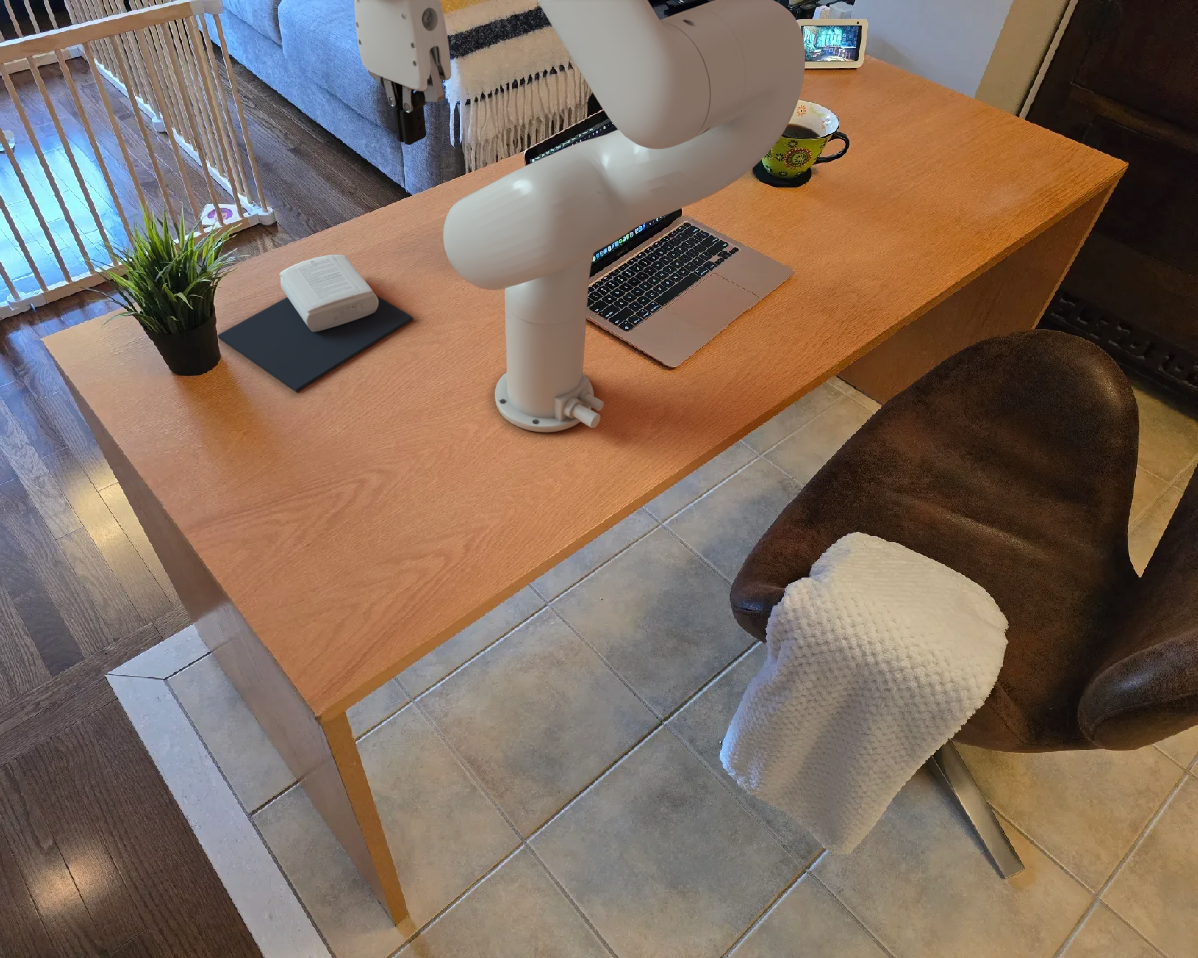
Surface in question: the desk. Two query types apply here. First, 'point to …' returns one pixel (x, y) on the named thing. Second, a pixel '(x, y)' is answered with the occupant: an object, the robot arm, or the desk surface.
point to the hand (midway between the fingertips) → (412, 139)
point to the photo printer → (328, 291)
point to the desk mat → (308, 341)
